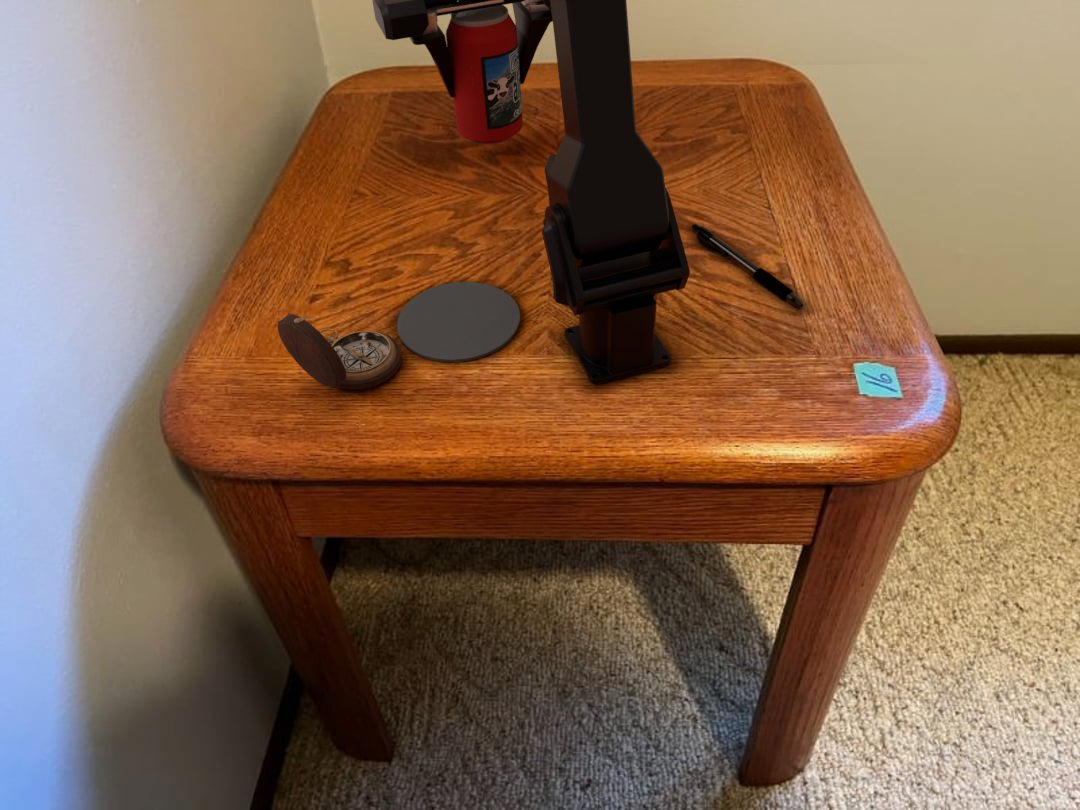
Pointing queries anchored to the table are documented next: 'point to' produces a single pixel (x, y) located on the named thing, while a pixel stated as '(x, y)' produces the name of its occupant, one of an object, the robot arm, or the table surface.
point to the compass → (340, 354)
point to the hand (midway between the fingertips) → (486, 88)
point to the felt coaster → (458, 321)
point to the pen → (746, 265)
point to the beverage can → (485, 74)
